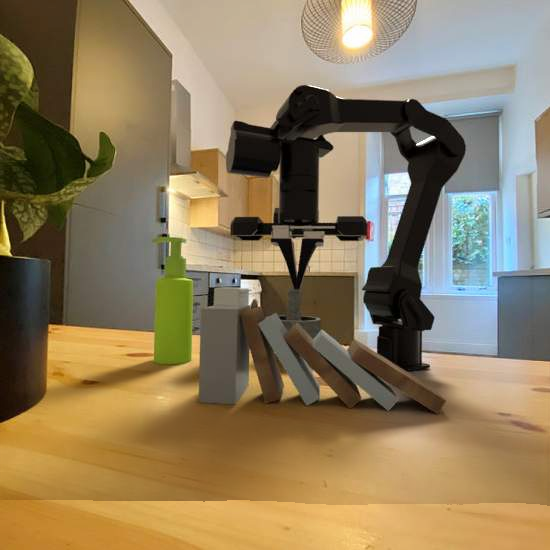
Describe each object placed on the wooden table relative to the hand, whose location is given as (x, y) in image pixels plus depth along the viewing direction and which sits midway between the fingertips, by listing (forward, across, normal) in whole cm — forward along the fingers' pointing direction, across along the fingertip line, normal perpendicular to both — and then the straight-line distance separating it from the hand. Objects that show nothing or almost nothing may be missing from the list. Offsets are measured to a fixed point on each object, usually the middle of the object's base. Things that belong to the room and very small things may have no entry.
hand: (297, 289), depth 50 cm
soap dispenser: (+12, +21, -4) cm, 25 cm away
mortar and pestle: (+12, +1, -11) cm, 17 cm away
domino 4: (+11, -11, +10) cm, 19 cm away
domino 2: (+12, -3, +10) cm, 16 cm away
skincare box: (+12, +11, -6) cm, 18 cm away
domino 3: (+11, -7, +10) cm, 17 cm away
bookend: (+12, +7, +10) cm, 17 cm away
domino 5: (+11, -16, +10) cm, 22 cm away
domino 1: (+12, +2, +10) cm, 16 cm away
